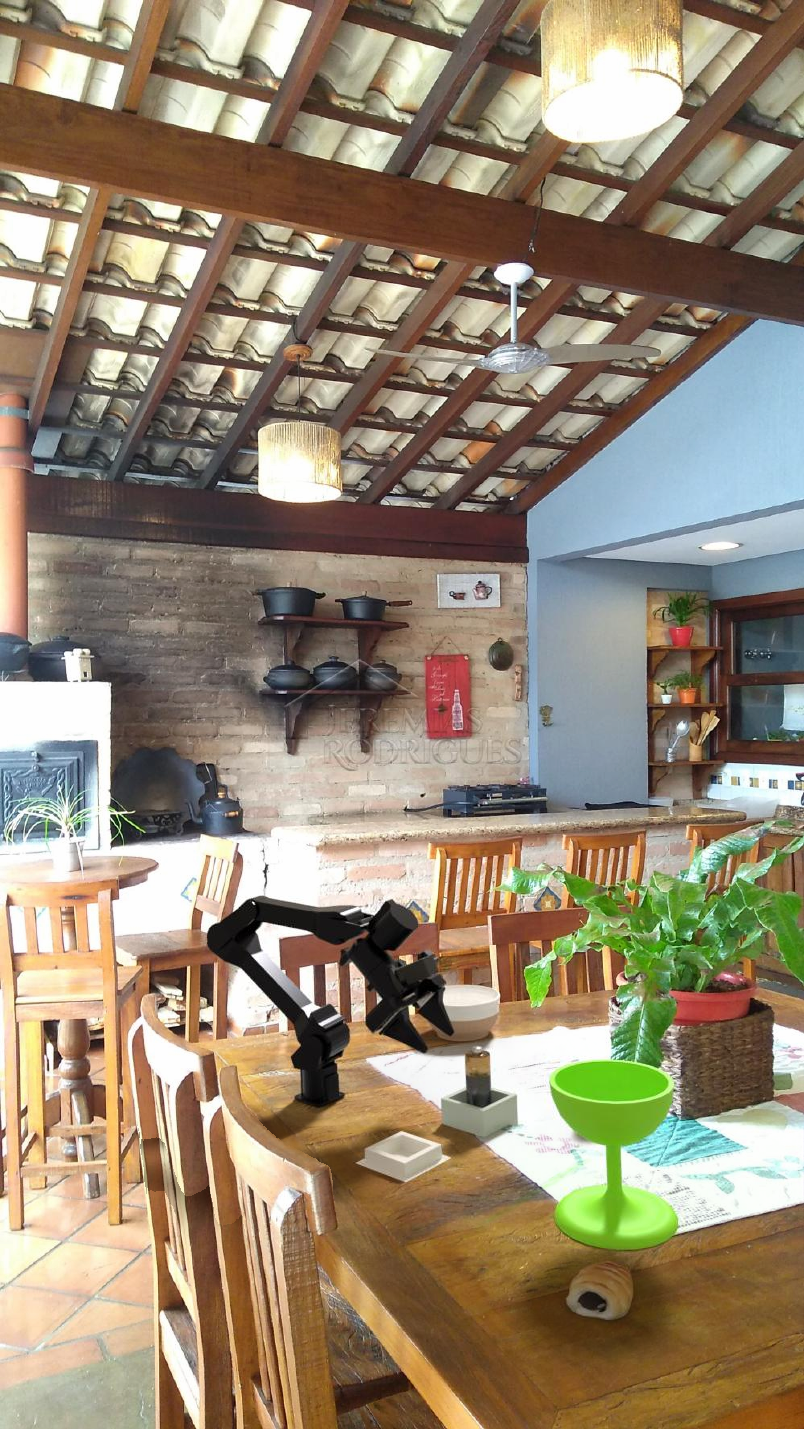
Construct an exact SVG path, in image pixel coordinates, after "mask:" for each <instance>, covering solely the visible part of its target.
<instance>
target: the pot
mask: <svg viewBox="0 0 804 1429" xmlns="http://www.w3.org/2000/svg"><path fill="white" fill-rule="evenodd" d="M491 1098H492V1104H490V1105H488V1106H486V1107H484V1108H480V1107H476V1106H473V1105H470V1104H467V1100H466V1086H464V1087H463V1088H461V1089H458V1090H456V1091H454V1092H452V1093H449V1094H447V1095H445V1096H444V1097H441V1098H440V1106H441V1107H440V1108H441V1125H444V1126H448V1127H451V1128H453V1129H457V1130H461V1131H463V1132H466V1133H468V1134H469V1133H470V1134H472V1135H475V1136H479V1137H483V1138H486V1137H488V1136H489V1135H490V1136H491V1135H492V1134H493V1133H496V1132H498V1131H499V1130H501V1129H503V1128H505V1127H507V1126H509V1125H510V1126H514V1127H516V1126H517V1127H518V1126H519V1121H518V1120H519V1117H518V1115H519V1114H518V1095H517V1093H514V1092H513V1093H512V1092H510V1091H509V1092H508V1091H505V1090H502V1089H498V1088H494V1087H491Z"/></svg>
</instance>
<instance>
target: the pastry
mask: <svg viewBox="0 0 804 1429" xmlns="http://www.w3.org/2000/svg"><path fill="white" fill-rule="evenodd" d="M633 1298H634V1282H633V1276H632V1273H631V1271H630V1269H629V1268H628V1267H626V1266H625V1265H624V1266H623V1265H621V1264H619V1263H616V1262H614V1261H613V1260H602V1261H600V1262H595V1263H592V1264H590V1265H586V1266H585V1267H584V1268H581V1269H580V1270H579V1272H578V1274H577V1275H575V1276H574V1277H573V1278H572V1279H571V1281H570V1284H569V1293H568V1295H567V1297H566V1298H565V1302H566V1305H567V1307H568V1308H569V1309H570V1311H571V1312H573V1313H576V1315H580V1316H583V1317H589V1318H597V1319H601V1320H606V1321H613V1320H619V1319H622V1318H623V1317H625V1316H626V1315H627V1314H628V1312H629V1310H630V1309H631V1304H632V1300H633Z"/></svg>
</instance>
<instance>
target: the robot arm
mask: <svg viewBox="0 0 804 1429" xmlns="http://www.w3.org/2000/svg"><path fill="white" fill-rule="evenodd" d="M263 923H264V924H265V923H266V924H271V925H276V926H281V927H285V928H290V929H296V930H300V931H301V930H302V931H304V932H305V931H307V932H309V933H311V934H313V935H314V936H315V937H316V938H317V939H318V940H321V941H323V942H326V943H329V944H330V945H333V946H340V945H342V944H345V943H348V942H350V941H353V940H355V941H354V942H353V943H352V945H350V946H347V947H346V946H345V947H344V948H342V949H340V958H339V966H340V967H343V966H346V965H348V964H350V963H353V965H354V966H355V967H356V969H357V970H358V971H359V972H360V974H361V975H362V976H363V977H364V978H365V980H366V981H367V982H368V985H367V986H366V987H365V988H366V989H367V991H368V992H369V993H371V992H373V991H375V993H377V995H378V996H379V997H380V999H381V1000H380V1001H379V1002H378V1003H377V1004H376V1005H375V1006H374V1007H373V1008H372V1009H371V1011H369V1013H367V1014H366V1015H365V1018H364V1020H365V1026H366V1027H367V1029H368V1030H369V1032H370V1033H371V1035H374V1034H376V1033H377V1032H378V1035H379V1036H385V1037H387V1038H390V1039H392V1040H395V1041H397V1042H399V1043H402V1044H403V1045H406V1046H408V1047H409V1048H412V1049H414V1050H415V1051H418V1052H420V1053H422V1054H425V1053H426V1052H428V1051H429V1047H428V1045H427V1044H426V1042H425V1040H424V1039H423V1037H422V1035H421V1034H420V1032H419V1031H418V1029H417V1028H416V1027H415V1025H414V1024H413V1022H412V1021H411V1019H410V1008H409V1007H410V1006H412V1007H413V1008H416V1009H418V1010H417V1011H416V1012H417V1014H418V1015H420V1016H421V1017H423V1018H424V1019H425V1020H426V1021H427V1022H428V1021H429V1022H430V1023H432V1024H433V1025H434V1026H436V1027H437V1028H438V1029H440V1030H441V1031H442V1032H444V1033H445V1034H447V1035H448V1036H452V1035H453V1034H454V1029H453V1027H452V1024H451V1022H450V1019H449V1017H448V1014H447V1012H446V1009H445V1006H444V1003H443V994H444V991H445V987H443V986H446V984H447V981H446V980H445V979H444V977H443V976H442V975H441V974H440V969H439V968H438V966H439V962H440V958H439V957H438V956H436V954H435V953H433V951H432V950H430V949H429V948H428V949H426V950H423V951H421V952H419V953H417V956H416V957H417V959H416V960H414V961H412V962H410V963H406V962H405V960H404V959H401V958H400V959H398V960H395V958H394V957H393V956H392V955H391V954H390V952H389V951H391V952H396V951H398V950H399V949H400V947H402V945H403V944H404V943H405V942H406V941H407V940H408V939H410V938H409V937H411V935H412V934H413V933H414V932H416V930H417V929H418V928H419V926H420V925H419V921H418V918H417V916H416V915H415V914H414V912H413V911H412V910H410V909H408V908H407V907H406V906H404V905H402V904H400V903H397V902H395V900H394V899H393V898H389V899H387V900H385V901H384V902H383V904H382V905H381V906H380V908H379V910H378V911H377V912H376V913H375V914H371V913H367V912H363V911H362V909H361V908H360V907H359V906H356V905H354V904H351V905H349V904H347V905H346V904H345V905H330V906H315V905H308V904H304V903H299V902H292V901H288V900H281V899H278V898H277V899H275V898H271V897H268V896H266V895H257V896H253V897H250V898H247V899H246V900H245V901H243V902H242V903H241V904H240V906H238V908H236V909H235V910H234V911H232V912H231V913H230V914H228V915H227V916H225V917H224V918H223V919H222V920H220V921H219V922H215V923H213V924H211V925H210V927H208V929H207V933H206V946H207V947H208V950H210V952H211V953H212V954H213V955H215V956H216V957H218V958H219V959H220V960H222V961H223V962H225V963H227V964H229V965H232V966H235V967H237V968H240V969H241V970H242V971H243V972H244V973H245V974H246V976H248V977H249V979H250V980H251V981H252V982H253V983H254V984H255V985H256V986H257V987H258V988H259V989H260V990H261V991H262V993H263V994H265V996H266V997H267V998H268V999H269V1001H271V1002H272V1003H273V1004H274V1006H276V1007H277V1009H278V1010H279V1011H280V1012H281V1013H282V1014H283V1015H284V1016H285V1017H286V1018H287V1020H289V1022H291V1024H292V1025H293V1029H294V1034H295V1036H296V1041H297V1043H299V1045H300V1046H299V1047H297V1049H296V1050H295V1051H294V1052H293V1053H292V1054H291V1056H290V1060H291V1063H292V1066H293V1068H294V1069H296V1070H299V1072H300V1073H299V1074H300V1076H299V1077H300V1093H298V1094H295V1095H294V1098H293V1099H294V1100H296V1101H300V1102H303V1103H306V1104H309V1105H310V1106H311V1105H312V1106H314V1107H317V1108H320V1107H322V1106H325V1105H327V1104H330V1103H332V1102H334V1101H337V1100H340V1099H342V1098H344V1097H345V1096H346V1093H345V1092H342V1091H340V1077H339V1076H340V1075H339V1072H338V1063H337V1062H335V1061H336V1060H338V1059H340V1058H342V1057H344V1056H343V1055H344V1052H345V1049H346V1048H348V1045H349V1044H350V1040H351V1034H350V1032H351V1029H350V1026H349V1025H348V1024H347V1022H346V1017H344V1016H343V1015H341V1014H340V1013H339V1012H338V1011H337V1010H336V1007H334V1006H333V1005H332V1004H331V1003H327V1004H325V1005H323V1006H319V1005H316V1004H315V1003H313V1002H312V1001H311V1000H310V999H309V998H308V997H307V995H305V993H304V992H303V991H302V990H301V989H300V988H299V987H298V986H297V985H296V984H295V983H294V982H293V981H292V980H291V979H290V978H289V977H288V975H286V973H285V972H284V971H282V969H281V968H280V967H279V966H278V965H277V964H276V963H275V962H274V961H273V960H272V959H271V958H270V956H268V955H267V954H266V952H264V950H263V949H262V947H261V942H260V939H259V934H258V933H257V931H258V930H259V929H260V928H261V927H262V925H263ZM365 933H367V935H366V936H365V937H361V936H362V935H363V934H365ZM442 987H443V988H442ZM429 1022H428V1023H429Z"/></svg>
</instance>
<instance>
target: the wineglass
mask: <svg viewBox="0 0 804 1429" xmlns="http://www.w3.org/2000/svg"><path fill="white" fill-rule="evenodd" d="M548 1082H549V1083H548V1084H549V1087H550V1093H551V1097H552V1101H553V1103H554V1105H555V1107H556V1109H557V1111H558V1113H559V1116H560V1117H561V1118H562V1119H563V1121H564V1122H565V1123H566V1124H567V1125H568V1127H569V1128H571V1130H573V1132H574V1133H576V1134H577V1135H579V1136H581V1137H583V1138H584V1139H585V1140H587V1141H588V1142H591V1143H595V1144H597V1145H601V1146H605V1160H606V1184H596V1185H591V1186H585V1187H582V1188H578V1189H576V1190H573V1191H571V1192H569V1193H568V1194H566V1195H565V1196H563V1197H562V1199H561V1200H560V1201H559V1202H558V1203H557V1205H556V1207H555V1210H554V1214H553V1219H554V1222H555V1225H556V1226H557V1227H558V1228H559V1229H560V1230H561V1231H562V1233H563V1234H565V1235H566V1236H568V1237H570V1238H572V1239H573V1240H575V1241H577V1242H580V1243H583V1244H585V1245H588V1246H591V1247H596V1248H601V1249H609V1250H618V1251H628V1250H629V1251H630V1250H631V1251H632V1250H641V1249H647V1248H652V1247H656V1246H658V1245H662V1244H663V1243H665V1242H667V1241H668V1240H670V1239H671V1238H672V1237H673V1236H675V1235H676V1233H677V1231H678V1230H679V1227H680V1226H679V1225H680V1224H679V1225H678V1220H680V1219H679V1217H678V1214H677V1212H676V1210H674V1207H673V1206H672V1205H670V1204H669V1203H668V1202H667V1201H666V1200H665V1199H664V1198H662V1197H661V1196H658V1195H657V1194H655V1193H654V1192H651V1191H648V1190H644V1189H643V1188H638V1187H633V1186H630V1185H623V1177H622V1173H623V1172H622V1149H621V1147H625V1146H632V1145H634V1144H638V1143H639V1142H641V1141H643V1140H644V1139H646V1138H648V1137H649V1136H651V1135H653V1134H654V1133H655V1132H656V1130H658V1129H659V1127H660V1126H661V1125H662V1123H663V1122H664V1121H665V1120H666V1118H667V1117H668V1114H669V1113H670V1112H669V1111H670V1109H671V1106H672V1104H673V1097H674V1088H675V1086H674V1085H675V1080H674V1079H673V1077H672V1076H671V1075H670V1074H668V1072H665V1071H664V1070H662V1069H660V1068H657V1067H655V1066H652V1065H651V1064H650V1065H649V1064H644V1063H642V1062H641V1063H640V1062H639V1061H638V1062H637V1061H636V1062H635V1061H630V1060H623V1059H622V1060H621V1059H590V1060H583V1061H577V1062H572V1063H568V1064H566V1065H565V1064H564V1065H563V1066H560V1067H558V1068H556V1069H555V1070H554V1071H552V1072H551V1073H550V1075H549V1078H548ZM677 1229H678V1230H677Z"/></svg>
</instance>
